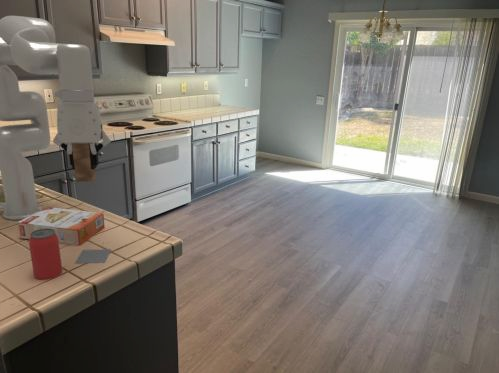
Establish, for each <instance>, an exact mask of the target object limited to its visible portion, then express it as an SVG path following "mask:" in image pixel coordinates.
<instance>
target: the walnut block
mask: <svg viewBox="0 0 499 373" xmlns="http://www.w3.org/2000/svg"><path fill="white" fill-rule="evenodd" d="M71 144H72V151H73V159H74V167H75V170H74V173H75V179H76V181H75V182H94V180H95V179H96V177H97V170H96V168H95V169H94V170H92V169H91V160H90V155H91V149H90V145H89V144H79V143H71Z"/></svg>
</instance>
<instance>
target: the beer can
mask: <svg viewBox="0 0 499 373" xmlns="http://www.w3.org/2000/svg"><path fill="white" fill-rule="evenodd" d="M28 247H29V252H30V260H31V265H32V271H33V272H32V273H33V276H34V278H35V279H37V280H40V281H41V280H42V281H44V280H45V281H46V280H51V279H54V278H56V277H58V276H60V275H61V274H62V272H63V266H62V258H61V249H60V243H59V241H58V237H57V235H56V233H55V230H53V229H49V228H45V229H39V230H36V231H33V232H32V233H31V234H30V239H28Z"/></svg>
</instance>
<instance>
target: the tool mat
mask: <svg viewBox="0 0 499 373" xmlns="http://www.w3.org/2000/svg"><path fill="white" fill-rule="evenodd" d="M111 251H112V249H110V248H109V249H107V248H105V249H104V248H103V249H82V251H81V252H80V255H79V256H78V257H77V259H76V260H75V262H74V265H76V264H77V265H79V264H81V265H82V264H105V263H106V262H107V259H108V257H109V255H110V253H111Z"/></svg>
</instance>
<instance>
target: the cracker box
mask: <svg viewBox="0 0 499 373" xmlns="http://www.w3.org/2000/svg"><path fill="white" fill-rule="evenodd" d="M17 225H18V233H19V238H20V239H21V240H22V239H23V240H29V239H30V234H31V233H32V232H33V231H36V230H39V229H45V228H49V229H53V230H55V233H56V235H57V237H58V241H59V244H65V245H73V246H82V244H84V243H85V242H87V241H89V240H90V239H91V238H92V237H94V236H95V235H97V234H98V233H99V232H101V231H103V230H104V229H105V227H106V226H105V217H104V213H102V212H95V211H94V212H93V211H85V210H77V209H71V208H70V209H67V208H60V207H53V206H52V207H51V206H47V207H46V208H43V210H41V211H40V212H38V213H35V214H33V215H31V216H29V217H27V218H25V219H20V220H19V221H17Z"/></svg>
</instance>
